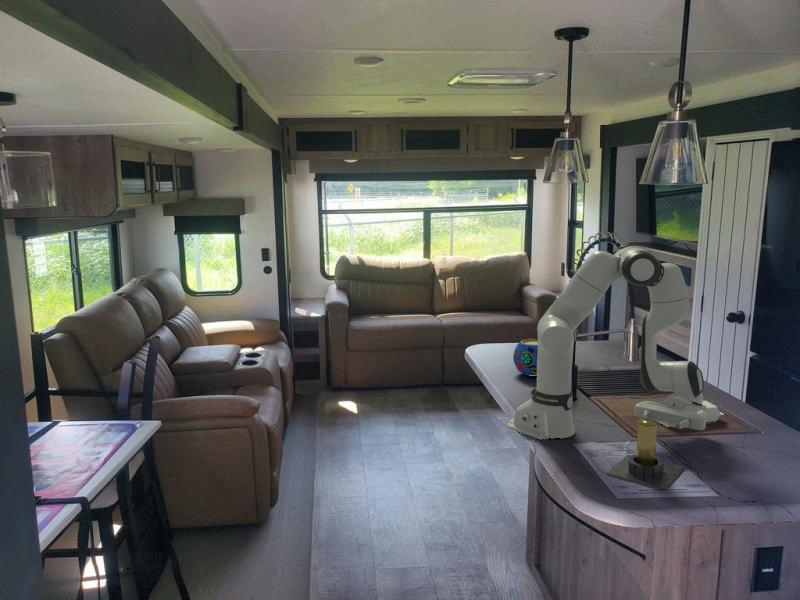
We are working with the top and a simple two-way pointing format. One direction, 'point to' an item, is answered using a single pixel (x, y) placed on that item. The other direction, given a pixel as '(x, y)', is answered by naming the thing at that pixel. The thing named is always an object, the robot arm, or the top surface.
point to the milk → (712, 413)
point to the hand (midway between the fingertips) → (661, 422)
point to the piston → (646, 442)
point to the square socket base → (646, 472)
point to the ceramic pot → (526, 356)
